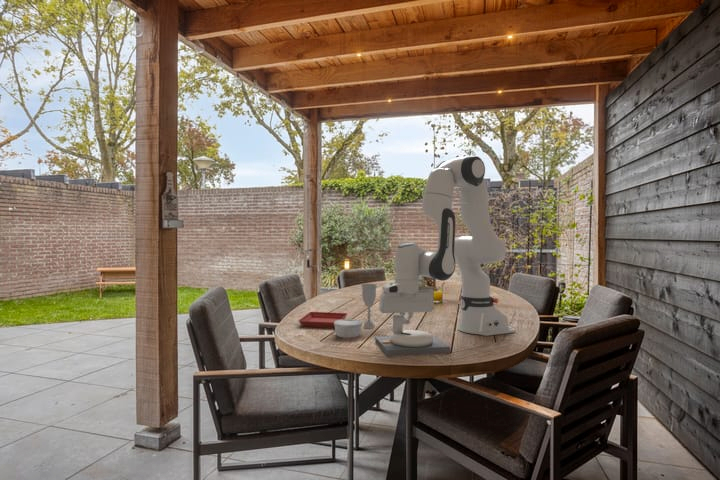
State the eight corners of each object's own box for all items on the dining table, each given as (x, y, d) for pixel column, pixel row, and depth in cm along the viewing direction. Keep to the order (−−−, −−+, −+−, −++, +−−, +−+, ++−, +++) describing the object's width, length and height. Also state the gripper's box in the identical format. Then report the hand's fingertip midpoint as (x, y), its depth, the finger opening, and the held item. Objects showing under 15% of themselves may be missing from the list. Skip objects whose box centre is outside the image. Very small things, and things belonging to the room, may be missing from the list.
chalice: (375, 329, 171) (375, 286, 171) (359, 328, 172) (359, 285, 172) (378, 325, 178) (378, 284, 178) (362, 324, 180) (362, 283, 179)
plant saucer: (339, 329, 172) (339, 321, 172) (297, 327, 175) (297, 320, 175) (348, 320, 190) (347, 313, 190) (310, 318, 193) (310, 311, 193)
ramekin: (358, 330, 169) (358, 318, 169) (365, 338, 158) (365, 324, 158) (331, 332, 166) (331, 319, 166) (336, 339, 156) (336, 325, 155)
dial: (439, 339, 147) (440, 317, 147) (420, 349, 135) (420, 325, 135) (403, 333, 156) (403, 312, 156) (381, 341, 144) (382, 319, 144)
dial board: (431, 339, 156) (431, 332, 156) (450, 352, 139) (450, 344, 139) (375, 342, 152) (375, 335, 152) (387, 356, 135) (387, 348, 135)
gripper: (430, 285, 155) (430, 321, 156) (377, 286, 152) (377, 323, 152) (436, 287, 149) (436, 325, 150) (381, 288, 146) (381, 327, 146)
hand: (406, 324), depth 151 cm, fingers closed
